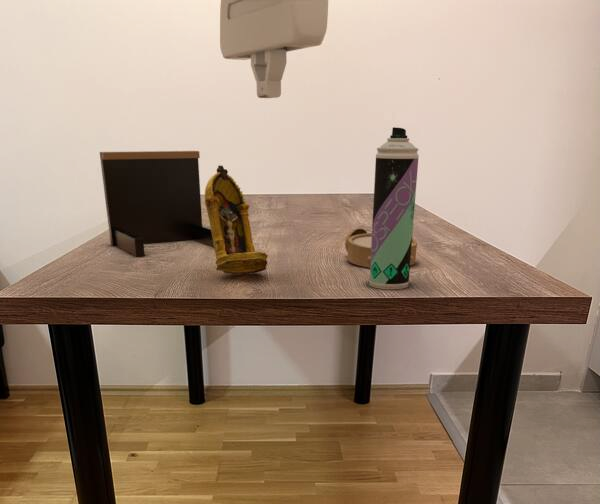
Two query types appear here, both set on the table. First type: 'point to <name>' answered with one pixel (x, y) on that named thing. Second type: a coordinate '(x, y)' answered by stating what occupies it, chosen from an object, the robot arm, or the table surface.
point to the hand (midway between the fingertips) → (268, 97)
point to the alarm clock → (366, 248)
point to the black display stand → (153, 198)
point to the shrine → (231, 226)
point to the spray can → (393, 211)
